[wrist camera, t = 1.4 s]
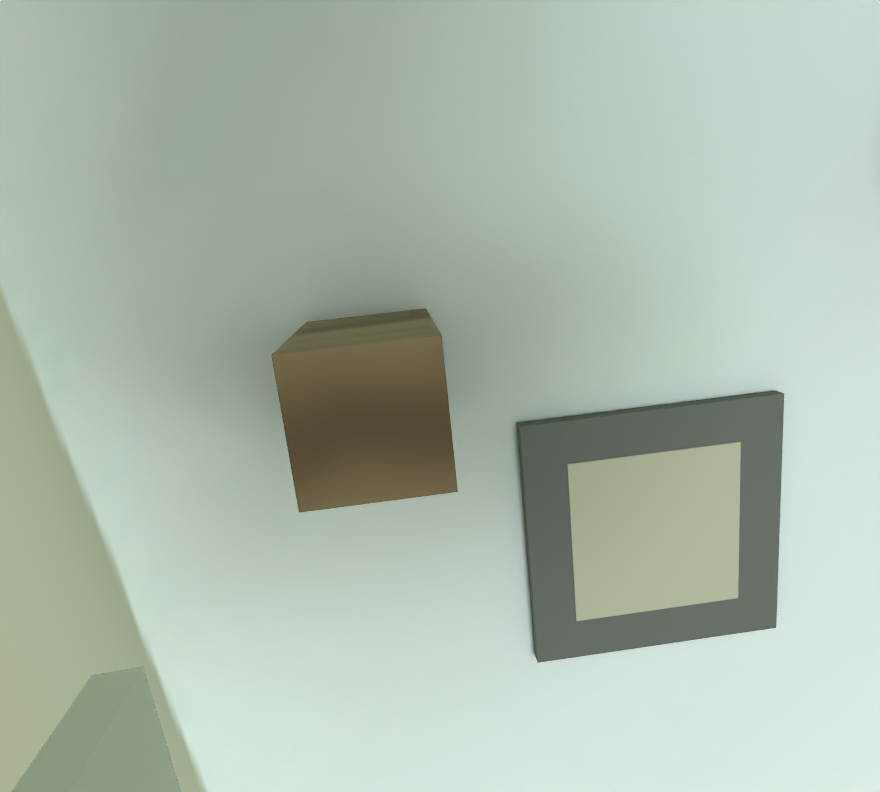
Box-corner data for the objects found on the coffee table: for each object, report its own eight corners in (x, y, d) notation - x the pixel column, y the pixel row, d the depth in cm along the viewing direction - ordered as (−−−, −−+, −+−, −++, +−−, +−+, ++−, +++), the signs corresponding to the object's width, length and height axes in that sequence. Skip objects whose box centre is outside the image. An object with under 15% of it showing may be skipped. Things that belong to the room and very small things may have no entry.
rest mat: (517, 423, 27) (520, 427, 27) (775, 390, 28) (784, 393, 27) (534, 654, 30) (538, 663, 30) (768, 620, 31) (776, 628, 30)
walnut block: (306, 322, 26) (271, 355, 18) (425, 308, 26) (441, 335, 18) (324, 435, 27) (298, 512, 19) (437, 421, 27) (457, 491, 19)
